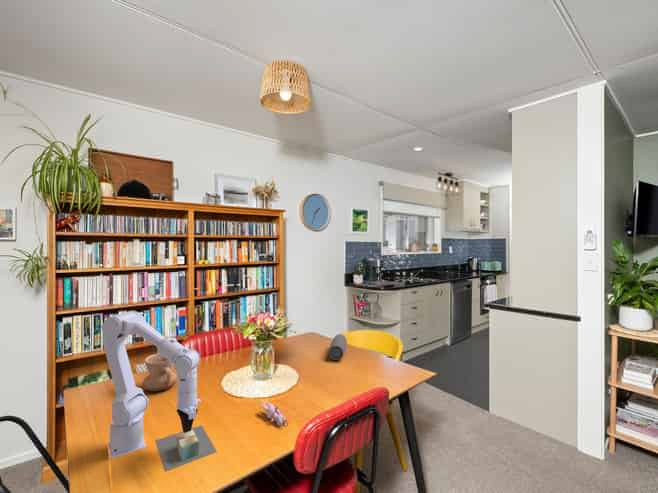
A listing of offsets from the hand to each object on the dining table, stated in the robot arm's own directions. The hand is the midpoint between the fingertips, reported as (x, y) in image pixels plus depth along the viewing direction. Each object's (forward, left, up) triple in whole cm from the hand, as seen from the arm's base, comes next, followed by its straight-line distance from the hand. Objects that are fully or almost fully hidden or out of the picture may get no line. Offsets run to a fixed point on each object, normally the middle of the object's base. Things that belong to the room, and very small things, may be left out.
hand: (187, 431), depth 101 cm
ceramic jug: (0, +54, -7) cm, 54 cm away
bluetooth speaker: (+94, +40, -7) cm, 103 cm away
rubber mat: (0, +2, -6) cm, 7 cm away
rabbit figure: (+31, 0, -7) cm, 32 cm away
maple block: (0, +3, -4) cm, 5 cm away
